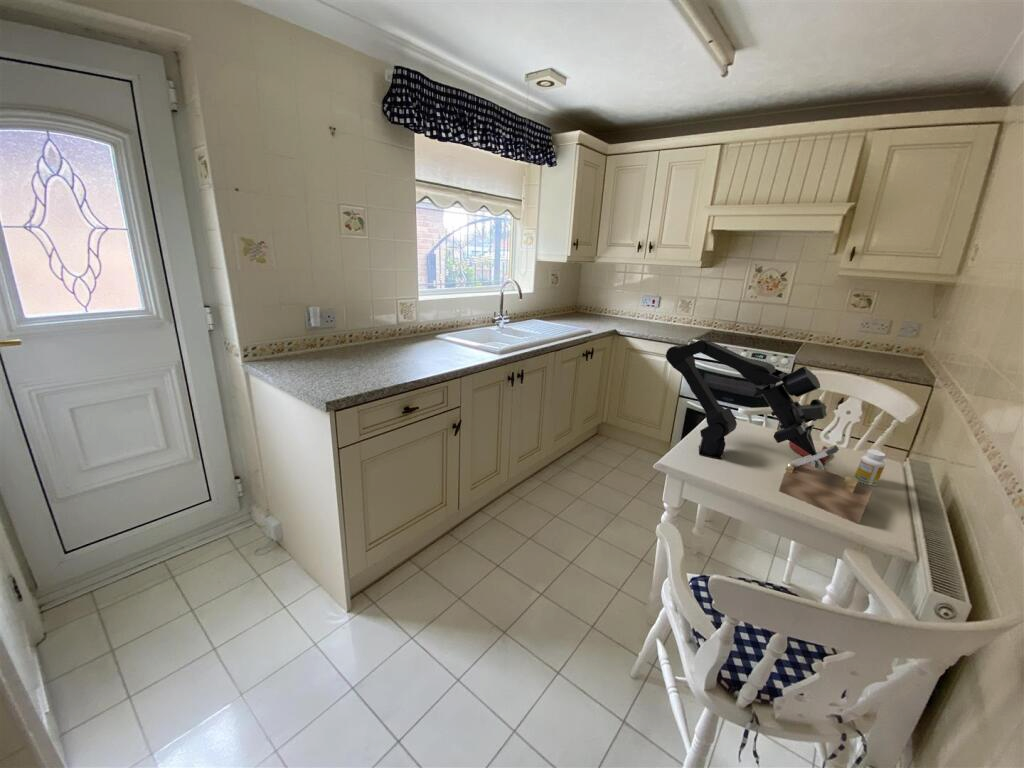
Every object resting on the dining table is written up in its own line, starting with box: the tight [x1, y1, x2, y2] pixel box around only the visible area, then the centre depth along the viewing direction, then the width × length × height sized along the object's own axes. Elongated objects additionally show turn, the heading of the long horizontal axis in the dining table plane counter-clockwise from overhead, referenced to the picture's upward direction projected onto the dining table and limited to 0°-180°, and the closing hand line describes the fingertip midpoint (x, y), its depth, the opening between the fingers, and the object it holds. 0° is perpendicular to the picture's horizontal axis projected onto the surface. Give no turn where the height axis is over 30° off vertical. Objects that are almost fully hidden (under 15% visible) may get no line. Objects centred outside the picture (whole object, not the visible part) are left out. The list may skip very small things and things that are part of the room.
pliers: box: [788, 440, 831, 470], centre depth 135 cm, size 12×20×3 cm, turn 155°
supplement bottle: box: [854, 448, 886, 486], centre depth 123 cm, size 5×5×10 cm
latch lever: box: [786, 444, 840, 467], centre depth 114 cm, size 13×4×1 cm
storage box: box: [778, 458, 875, 525], centre depth 113 cm, size 18×12×8 cm, turn 43°
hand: (814, 454), depth 114 cm, fingers closed, pressing on latch lever
